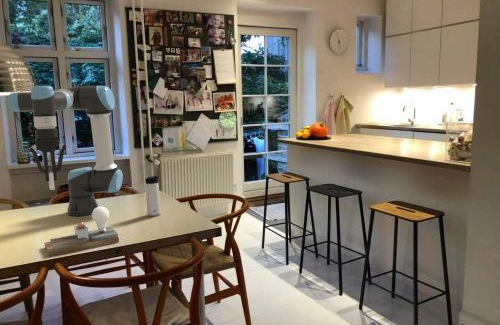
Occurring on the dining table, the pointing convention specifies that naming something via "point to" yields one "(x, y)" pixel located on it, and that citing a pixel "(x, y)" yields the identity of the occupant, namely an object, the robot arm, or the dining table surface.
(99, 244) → the press base
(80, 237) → the ram slider
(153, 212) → the travel mug
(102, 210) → the light bulb
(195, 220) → the dining table surface
